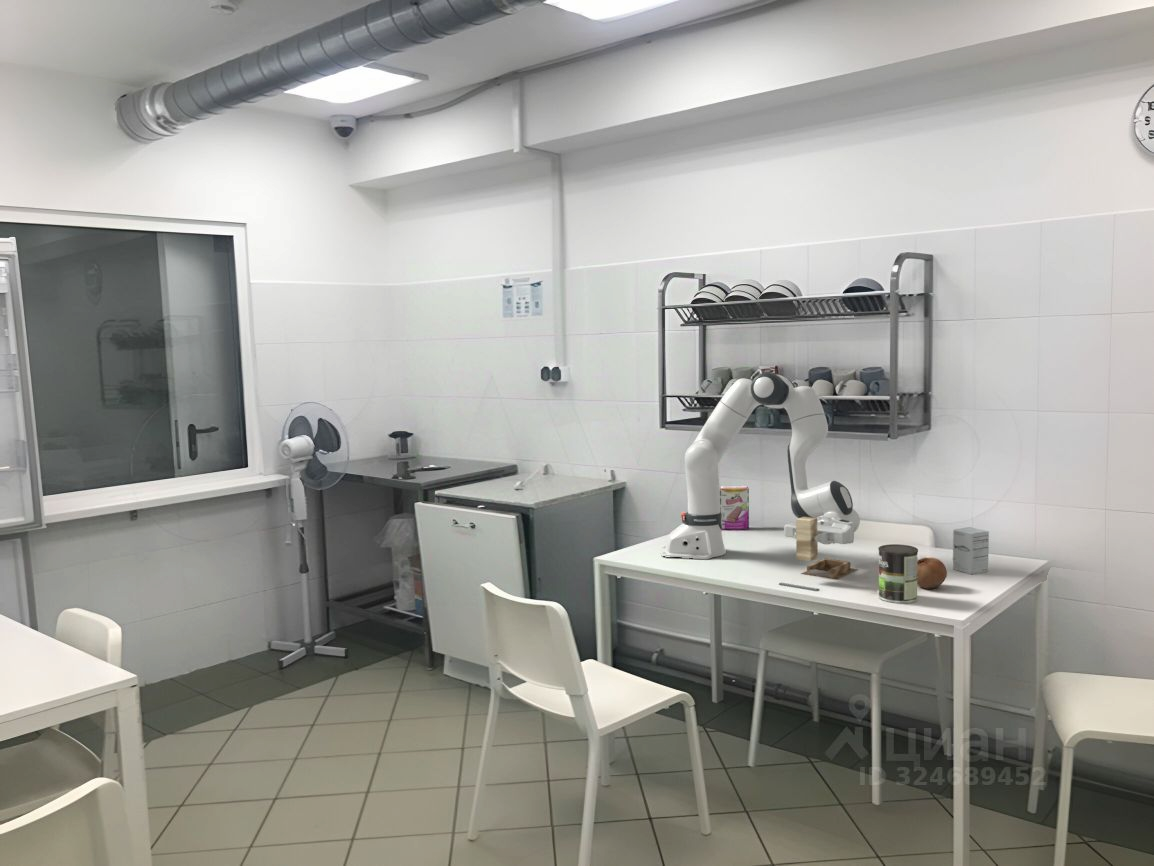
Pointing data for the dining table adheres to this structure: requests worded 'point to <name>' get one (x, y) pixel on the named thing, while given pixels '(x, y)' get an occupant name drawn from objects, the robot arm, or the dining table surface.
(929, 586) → the onion
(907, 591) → the coffee can
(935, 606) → the dining table surface
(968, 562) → the supplement box
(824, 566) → the walnut chute
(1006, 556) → the dining table surface
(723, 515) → the candy bar box
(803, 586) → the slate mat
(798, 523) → the maple block
